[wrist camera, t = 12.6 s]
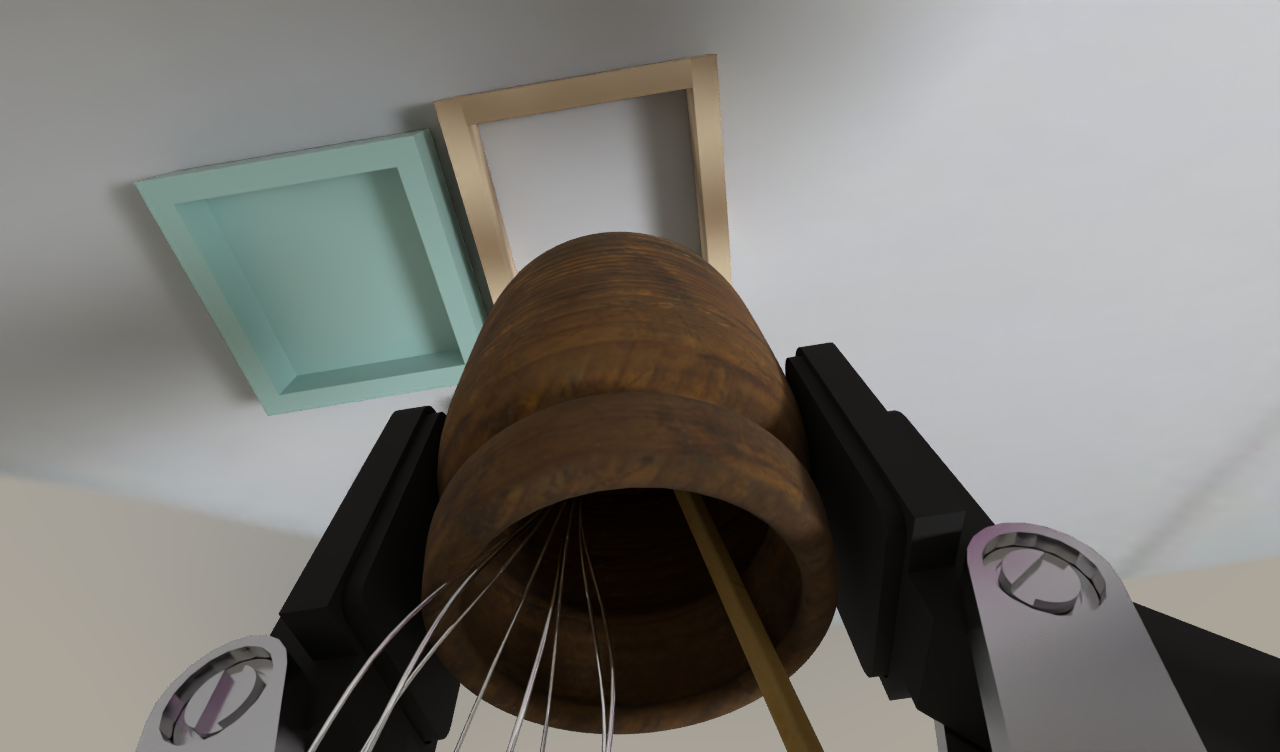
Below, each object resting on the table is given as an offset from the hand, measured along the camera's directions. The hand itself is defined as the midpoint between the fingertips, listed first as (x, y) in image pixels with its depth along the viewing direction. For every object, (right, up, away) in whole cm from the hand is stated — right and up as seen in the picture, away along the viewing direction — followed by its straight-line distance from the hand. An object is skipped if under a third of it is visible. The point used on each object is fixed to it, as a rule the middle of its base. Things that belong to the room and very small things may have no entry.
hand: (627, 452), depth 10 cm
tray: (-13, +6, +17) cm, 23 cm away
